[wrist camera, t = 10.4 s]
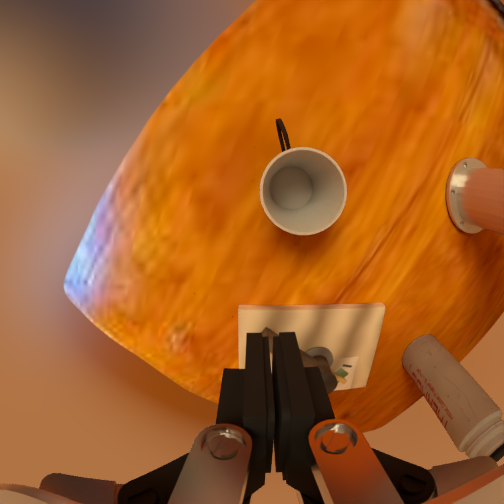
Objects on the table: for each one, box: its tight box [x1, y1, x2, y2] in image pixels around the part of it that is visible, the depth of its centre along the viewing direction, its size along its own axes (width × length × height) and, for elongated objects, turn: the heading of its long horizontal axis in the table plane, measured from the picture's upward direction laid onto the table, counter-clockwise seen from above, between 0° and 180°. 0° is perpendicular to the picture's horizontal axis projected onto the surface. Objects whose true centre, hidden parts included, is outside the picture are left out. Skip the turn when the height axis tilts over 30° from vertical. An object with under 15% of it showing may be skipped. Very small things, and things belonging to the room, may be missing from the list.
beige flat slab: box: [238, 303, 386, 391], centre depth 41 cm, size 22×16×2 cm
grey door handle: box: [261, 327, 347, 394], centre depth 37 cm, size 18×4×5 cm, turn 52°
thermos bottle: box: [402, 335, 504, 462], centre depth 30 cm, size 8×8×28 cm
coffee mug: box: [260, 119, 347, 235], centre depth 31 cm, size 12×9×10 cm
